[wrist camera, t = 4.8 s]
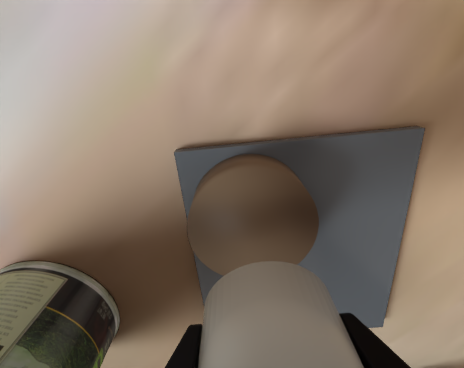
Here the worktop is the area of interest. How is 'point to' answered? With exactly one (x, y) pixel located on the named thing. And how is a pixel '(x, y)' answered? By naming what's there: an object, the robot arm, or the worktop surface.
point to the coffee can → (54, 317)
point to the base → (251, 214)
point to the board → (336, 207)
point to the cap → (273, 321)
